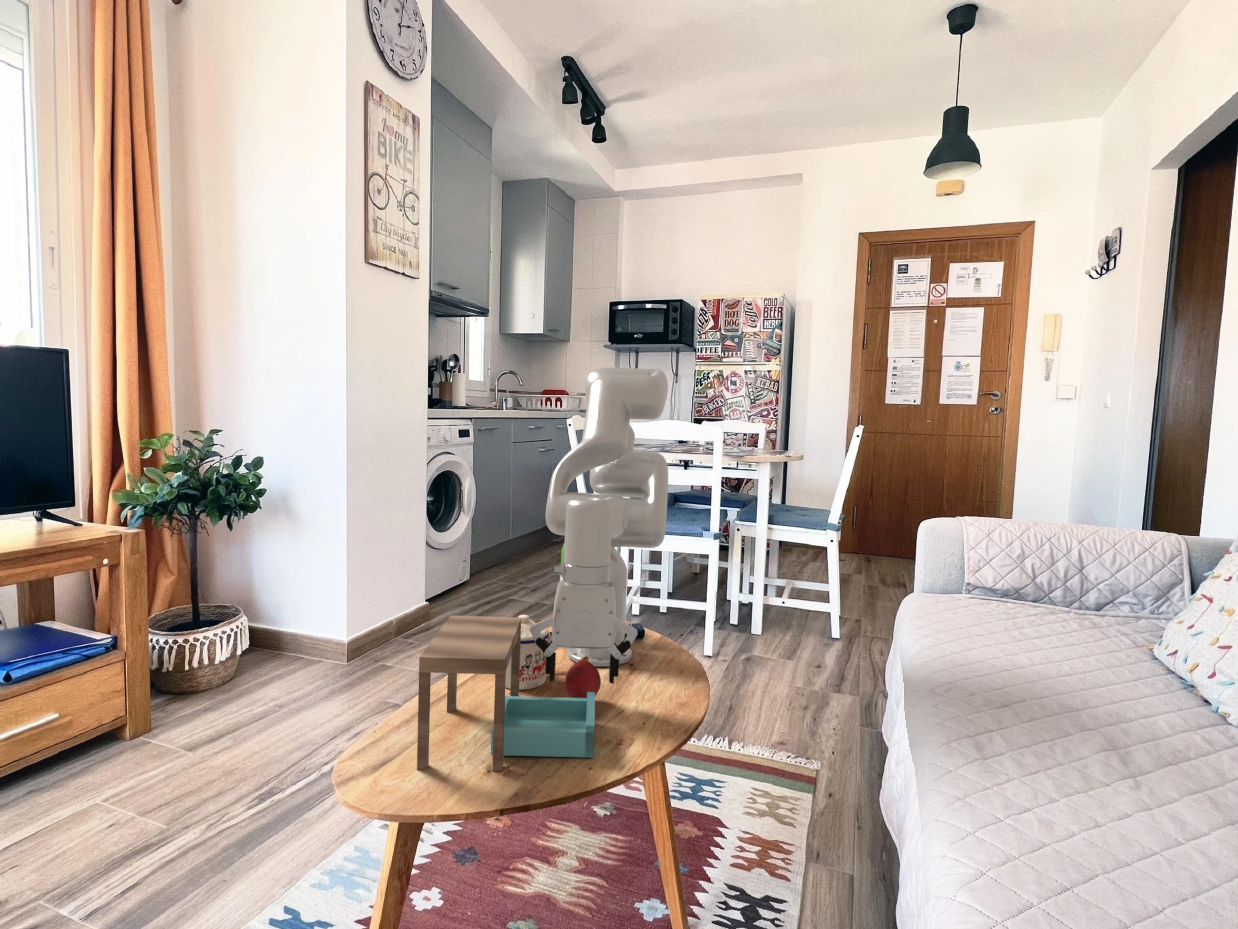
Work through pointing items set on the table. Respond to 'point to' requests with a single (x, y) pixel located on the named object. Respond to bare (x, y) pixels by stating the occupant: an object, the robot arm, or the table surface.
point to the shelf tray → (548, 726)
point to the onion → (582, 679)
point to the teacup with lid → (529, 658)
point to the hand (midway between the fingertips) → (581, 679)
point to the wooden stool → (470, 670)
